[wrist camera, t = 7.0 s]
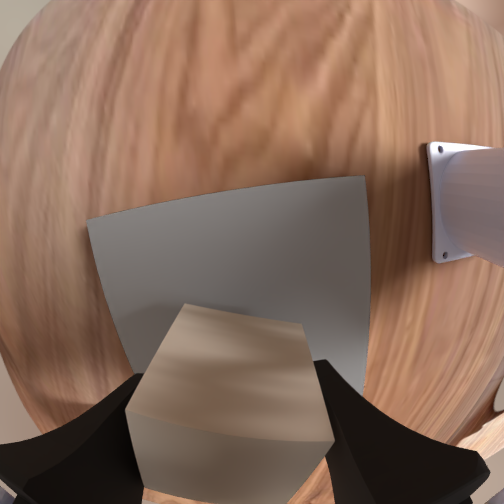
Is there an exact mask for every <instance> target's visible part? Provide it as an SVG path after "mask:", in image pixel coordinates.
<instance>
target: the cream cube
mask: <svg viewBox="0 0 504 504" xmlns="http://www.w3.org/2000/svg"><path fill="white" fill-rule="evenodd" d="M125 412H126V417H127V422H128V427H129V432H130V436H131V440H132V445H133V449H134V453H135V457H136V460H137V464H138V467H139V471H140V474H141V478H142V481H143V484H144V487H145V488H148V489H151V490H154V491H158V492H162V493H165V494H169V495H173V496H177V497H182V498H186V499H191V500H196V501H202V502H208V503H214V504H287V502H288V501H289V500H290V499H291V498H292V497H293V496H294V494H295V493H296V492H297V491H298V490H299V489H300V487H301V486H302V485H303V484H304V482H305V481H306V480H307V479H308V477H309V476H310V475H311V474H312V472H313V471H314V470H315V468H316V467H317V466H318V464H319V463H320V462H321V460H322V459H323V458H324V456H325V455H326V453H327V452H328V451H329V449H330V448H331V446H332V445H333V443H334V442H335V439H334V435H333V432H332V428H331V424H330V420H329V417H328V413H327V409H326V406H325V402H324V399H323V395H322V391H321V388H320V384H319V381H318V377H317V374H316V370H315V367H314V363H313V360H312V356H311V353H310V350H309V346H308V343H307V339H306V336H305V333H304V329H303V326H302V324H299V323H292V322H285V321H279V320H272V319H266V318H260V317H254V316H248V315H242V314H236V313H231V312H226V311H220V310H215V309H210V308H205V307H200V306H195V305H190V304H186V303H185V304H184V305H183V307H182V309H181V310H180V312H179V314H178V315H177V317H176V319H175V321H174V322H173V324H172V326H171V328H170V329H169V331H168V333H167V334H166V336H165V338H164V340H163V341H162V343H161V345H160V347H159V349H158V350H157V352H156V354H155V356H154V357H153V359H152V361H151V363H150V365H149V366H148V368H147V370H146V372H145V374H144V375H143V377H142V379H141V381H140V383H139V384H138V386H137V388H136V390H135V392H134V394H133V396H132V397H131V399H130V401H129V403H128V405H127V407H126V409H125Z"/></svg>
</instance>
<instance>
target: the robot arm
mask: <svg viewBox="0 0 504 504" xmlns="http://www.w3.org/2000/svg"><path fill="white" fill-rule="evenodd" d="M438 147H439V148H440V153H439V151H438ZM427 156H428V163H429V172H430V183H431V197H432V222H433V244H432V259H433V261H434V262H436V263H443V262H448V261H452V260H457V259H461V258H465V257H470V256H474V255H475V256H478V257H480V258H482V259H485V260H487V261H489V262H491V263H494V264H496V265H498V266H500V267H503V268H504V148H492V147H485V146H477V145H469V144H459V143H447V142H429V143H428V144H427ZM444 252H445V255H444V257H443V253H444ZM313 363H314V367H315V370H316V374H317V377H318V381H319V384H320V388H321V391H322V395H323V399H324V402H325V406H326V409H327V413H328V417H329V420H330V424H331V428H332V432H333V435H334V439H335V442H334V443H333V445H332V446H331V448H330V449H329V451H328V452H327V453H326V455H325V458H326V461H327V464H328V468H329V472H330V476H331V481H332V487H333V493H334V500H335V504H472V503H473V502H472V500H471V498H470V495H471V494H472V493H474V492H475V491H476V490H477V489H478V488H479V487H480V486H481V485H482V484H483V483H484V482H485V481H486V480H487V478H488V477H489V475H490V470H489V469H488V467H487V466H486V464H485V462H484V460H483V458H482V457H481V456H480V455H479V453H478V452H477V451H473V450H468V449H464V448H459V447H455V446H451V445H447V444H444V443H441V442H439V441H436V440H433V439H430V438H428V437H426V436H424V435H421V434H419V433H417V432H415V431H413V430H411V429H409V428H407V427H405V426H403V425H402V424H400V423H398V422H396V421H395V420H393V419H392V418H390V417H389V416H387V415H386V414H384V413H383V412H381V411H380V410H379V409H377V408H376V407H375V406H373V405H372V404H371V403H370V402H368V401H367V400H366V399H365V398H364V397H363V396H361V395H360V394H359V393H358V392H357V391H356V390H355V389H354V388H353V387H352V386H351V385H350V384H349V383H348V382H347V381H346V380H345V379H344V378H343V377H342V376H341V375H340V374H339V373H338V372H337V371H336V370H335V368H334V367H333V366H332V365H331V364H330V362H329V361H328V360H326V359H322V360H317V361H313ZM144 374H145V373H136V374H135V375H133V376H132V377H130V378H129V379H128V380H127V381H125V382H124V383H123V384H122V385H120V386H119V387H118V388H117V389H115V390H114V391H113V392H112V393H110V394H109V395H108V396H107V397H105V398H104V399H103V400H102V401H100V402H99V403H97V404H96V405H95V406H93V407H92V408H91V409H89V410H88V411H86V412H85V413H84V414H82V415H80V416H79V417H77V418H76V419H74V420H72V421H71V422H69V423H67V424H65V425H63V426H61V427H59V428H57V429H55V430H52V431H50V432H48V433H45V434H43V435H40V436H38V437H34V438H32V439H28V440H24V441H20V442H15V443H8V444H1V445H0V479H1V480H2V481H3V482H4V483H5V484H6V485H7V486H8V487H9V488H11V489H12V490H13V491H14V492H15V493H16V494H17V496H16V498H14V497H13V496H12V495H10V494H9V493H8V492H7V491H6V490H4V489H3V488H2V487H1V486H0V504H142V496H143V490H144V484H143V481H142V478H141V474H140V471H139V467H138V464H137V460H136V457H135V453H134V449H133V445H132V440H131V436H130V432H129V427H128V422H127V417H126V412H125V409H126V407H127V405H128V403H129V401H130V399H131V397H132V396H133V394H134V392H135V390H136V388H137V386H138V384H139V383H140V381H141V379H142V377H143V375H144ZM485 504H504V488H503V489H502V490H501V491H500V492H498V493H497V494H496V495H495V496H493V497H492V498H491V499H490V500H488V501H487V502H486V503H485Z"/></svg>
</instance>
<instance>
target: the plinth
mask: <svg viewBox="0 0 504 504" xmlns="http://www.w3.org/2000/svg"><path fill="white" fill-rule="evenodd" d="M86 222H87V227H88V232H89V237H90V242H91V246H92V250H93V255H94V259H95V263H96V267H97V270H98V274H99V278H100V281H101V285H102V288H103V291H104V295H105V298H106V301H107V304H108V307H109V310H110V313H111V316H112V319H113V322H114V325H115V328H116V330H117V333H118V336H119V338H120V341H121V343H122V346H123V348H124V351H125V353H126V356H127V358H128V361H129V363H130V365H131V368H132V370H133V372H134V374H136V373H145V372H146V370H147V368H148V366H149V365H150V363H151V361H152V359H153V357H154V356H155V354H156V352H157V350H158V349H159V347H160V345H161V343H162V341H163V340H164V338H165V336H166V334H167V333H168V331H169V329H170V328H171V326H172V324H173V322H174V321H175V319H176V317H177V315H178V314H179V312H180V310H181V309H182V307H183V305H184V304H185V303H186V304H190V305H195V306H200V307H205V308H210V309H215V310H220V311H226V312H231V313H236V314H242V315H248V316H254V317H260V318H266V319H272V320H279V321H285V322H292V323H299V324H302V326H303V329H304V333H305V336H306V339H307V343H308V346H309V350H310V353H311V356H312V360H313V361H317V360H322V359H326V360H328V361H329V362H330V364H331V365H332V366H333V367H334V368H335V370H336V371H337V372H338V373H339V374H340V375H341V376H342V377H343V378H344V379H345V380H346V381H347V382H348V383H349V384H350V385H351V386H352V387H353V388H354V389H355V390H356V391H357V392H358V393H359V394H360V395H361V396H363V389H364V381H365V373H366V363H367V353H368V341H369V325H370V301H371V255H370V230H369V215H368V202H367V192H366V182H365V175H362V176H347V177H334V178H323V179H313V180H304V181H295V182H286V183H278V184H270V185H263V186H255V187H248V188H242V189H235V190H229V191H222V192H216V193H210V194H204V195H199V196H193V197H188V198H182V199H177V200H172V201H167V202H162V203H157V204H152V205H147V206H143V207H138V208H134V209H129V210H125V211H121V212H116V213H112V214H108V215H104V216H100V217H96V218H93V219H89V220H86Z"/></svg>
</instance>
